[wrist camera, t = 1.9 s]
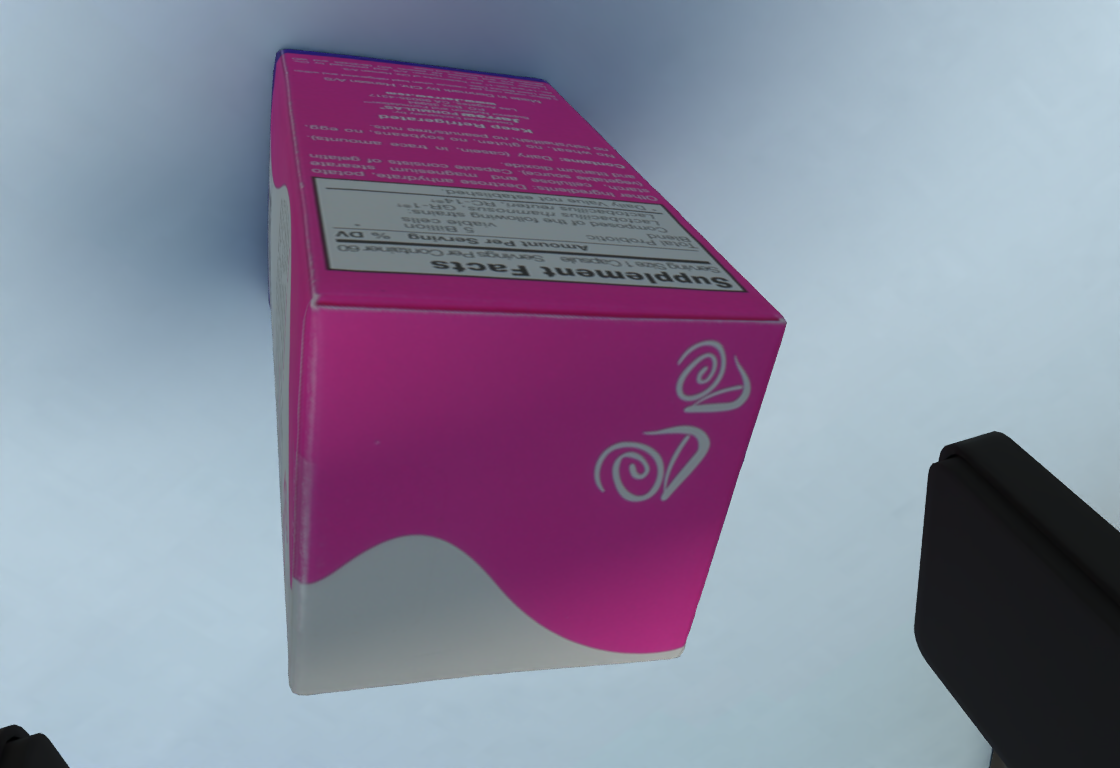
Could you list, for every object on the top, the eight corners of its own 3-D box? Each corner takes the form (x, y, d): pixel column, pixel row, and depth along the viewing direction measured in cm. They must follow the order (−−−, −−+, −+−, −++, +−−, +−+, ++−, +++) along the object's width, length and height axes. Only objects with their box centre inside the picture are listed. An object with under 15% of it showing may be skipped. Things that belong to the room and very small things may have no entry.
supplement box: (519, 314, 23) (686, 677, 14) (265, 303, 21) (260, 711, 12) (560, 73, 20) (806, 325, 11) (271, 37, 19) (270, 301, 9)
